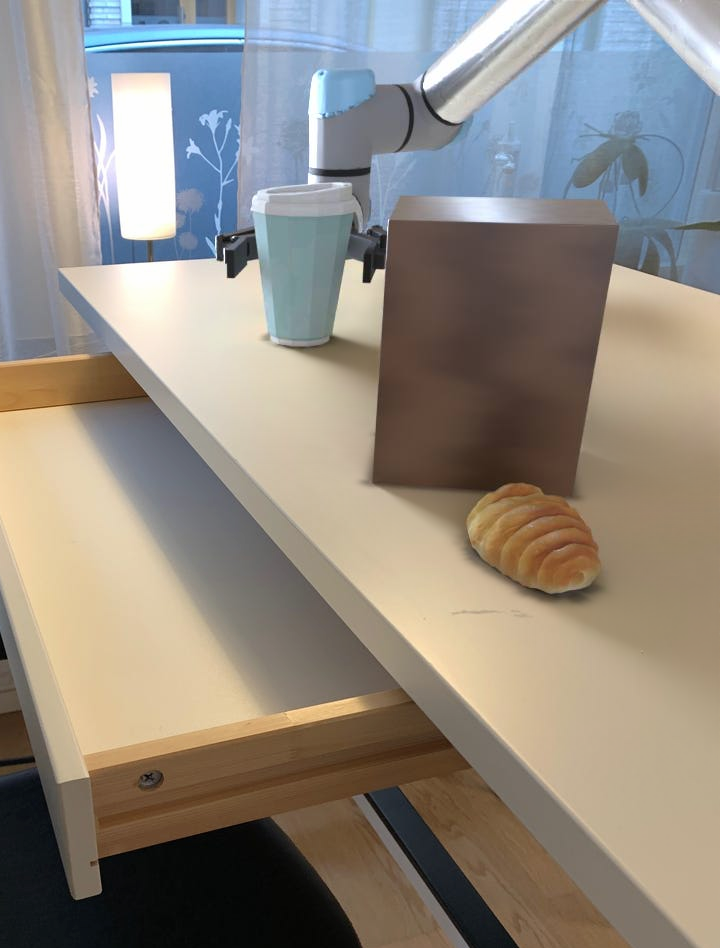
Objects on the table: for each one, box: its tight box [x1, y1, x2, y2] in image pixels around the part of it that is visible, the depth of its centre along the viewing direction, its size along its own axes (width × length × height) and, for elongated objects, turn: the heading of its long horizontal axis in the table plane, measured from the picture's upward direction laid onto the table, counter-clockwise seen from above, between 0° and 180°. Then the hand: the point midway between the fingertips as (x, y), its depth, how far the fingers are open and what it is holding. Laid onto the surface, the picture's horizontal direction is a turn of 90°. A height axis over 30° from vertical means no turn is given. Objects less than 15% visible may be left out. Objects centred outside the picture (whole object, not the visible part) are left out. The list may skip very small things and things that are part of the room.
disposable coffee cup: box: [250, 182, 357, 348], centre depth 103 cm, size 11×11×15 cm
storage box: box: [371, 195, 620, 498], centre depth 78 cm, size 14×24×18 cm, turn 168°
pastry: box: [466, 483, 603, 595], centre depth 62 cm, size 9×7×4 cm
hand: (297, 266), depth 100 cm, fingers open, 13 cm apart
